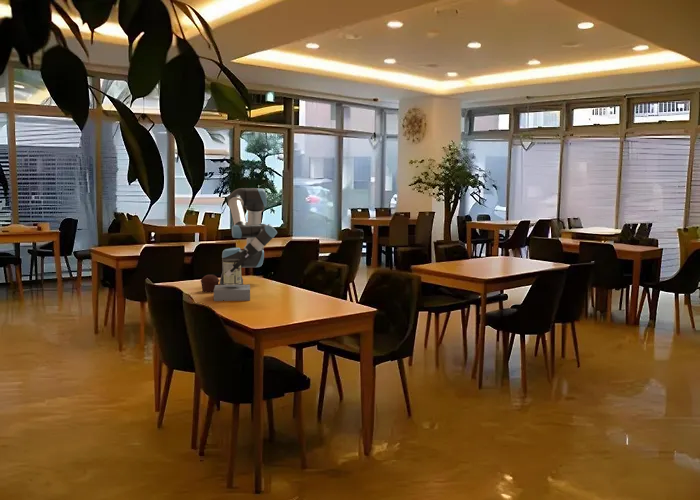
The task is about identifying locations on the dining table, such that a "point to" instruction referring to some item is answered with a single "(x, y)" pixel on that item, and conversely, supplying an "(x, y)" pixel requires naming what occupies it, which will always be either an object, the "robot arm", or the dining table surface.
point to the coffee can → (235, 276)
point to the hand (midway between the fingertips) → (227, 274)
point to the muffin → (209, 283)
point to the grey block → (231, 292)
